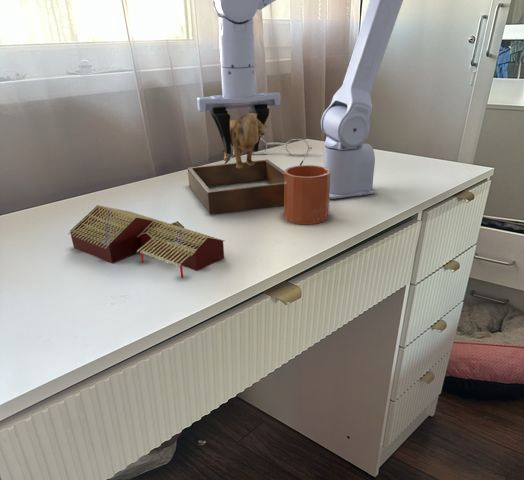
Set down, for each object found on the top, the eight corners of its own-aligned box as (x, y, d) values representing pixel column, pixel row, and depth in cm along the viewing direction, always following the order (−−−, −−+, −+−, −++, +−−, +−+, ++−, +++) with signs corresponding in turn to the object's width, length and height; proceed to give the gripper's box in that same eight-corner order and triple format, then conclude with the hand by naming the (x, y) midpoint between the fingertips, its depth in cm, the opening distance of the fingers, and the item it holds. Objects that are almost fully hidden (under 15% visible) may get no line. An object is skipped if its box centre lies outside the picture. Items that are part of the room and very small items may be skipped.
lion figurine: (272, 167, 90) (270, 112, 85) (246, 173, 88) (242, 117, 83) (233, 152, 101) (228, 102, 95) (209, 157, 98) (203, 106, 93)
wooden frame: (268, 178, 112) (267, 159, 110) (299, 203, 97) (299, 181, 95) (189, 187, 107) (187, 167, 105) (209, 214, 93) (207, 192, 90)
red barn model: (226, 256, 77) (224, 222, 74) (163, 287, 69) (158, 250, 66) (134, 226, 88) (129, 195, 85) (70, 248, 80) (62, 215, 77)
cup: (317, 207, 95) (319, 163, 90) (335, 221, 88) (338, 174, 84) (278, 212, 93) (277, 167, 88) (293, 227, 87) (294, 179, 82)
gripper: (271, 62, 90) (271, 143, 98) (190, 66, 87) (198, 150, 94) (284, 66, 85) (284, 151, 92) (199, 70, 81) (206, 158, 89)
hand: (241, 151), depth 93 cm, fingers closed on lion figurine, 4 cm apart
